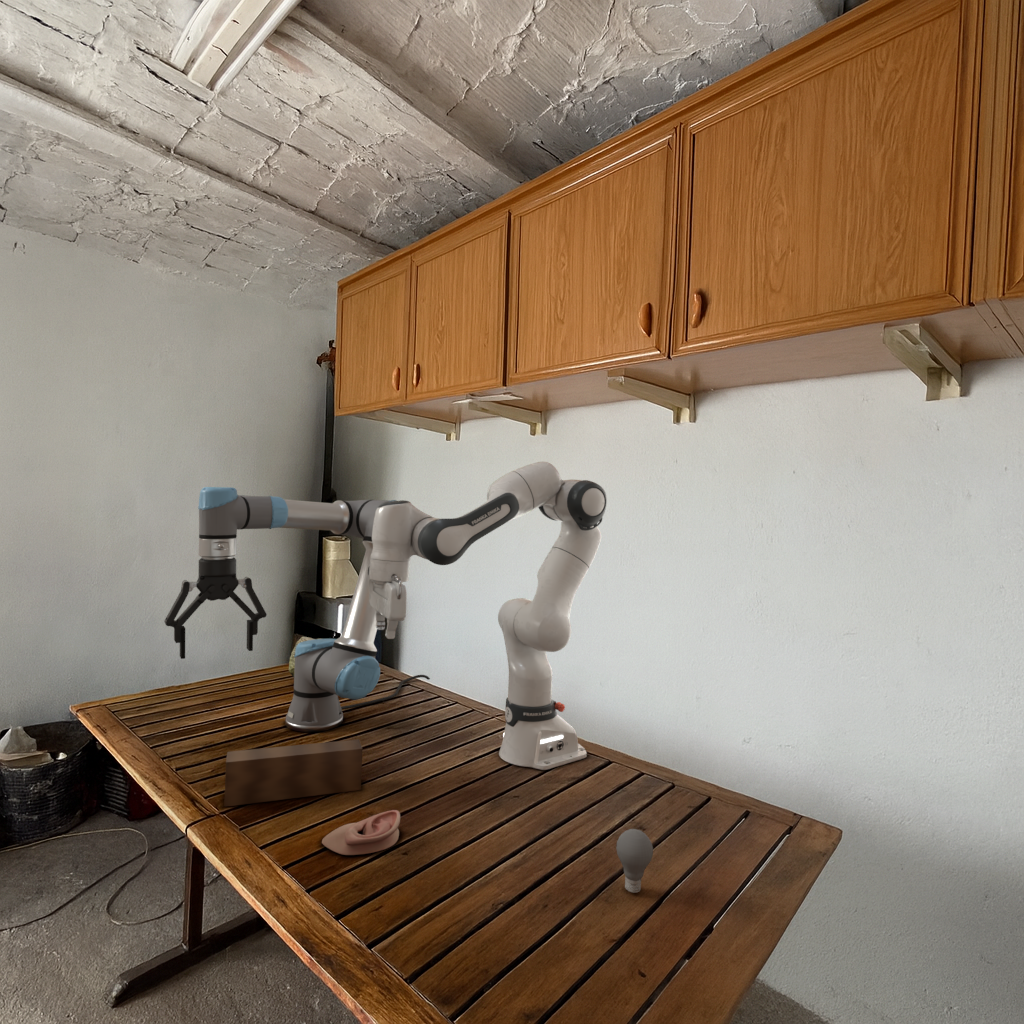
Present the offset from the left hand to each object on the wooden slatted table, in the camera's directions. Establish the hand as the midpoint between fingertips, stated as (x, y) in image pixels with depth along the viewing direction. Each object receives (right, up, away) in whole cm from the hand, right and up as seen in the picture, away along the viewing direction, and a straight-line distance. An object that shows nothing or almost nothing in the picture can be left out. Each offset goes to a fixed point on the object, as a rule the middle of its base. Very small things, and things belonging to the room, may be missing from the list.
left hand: (216, 653), depth 140 cm
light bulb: (+85, -32, -34) cm, 97 cm away
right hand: (+37, +4, +2) cm, 37 cm away
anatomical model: (+37, -30, -22) cm, 52 cm away
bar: (+19, -29, -4) cm, 34 cm away
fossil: (-1, -26, +75) cm, 80 cm away
